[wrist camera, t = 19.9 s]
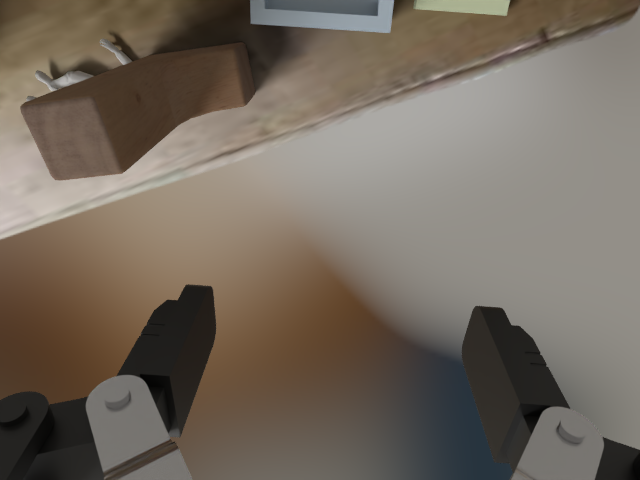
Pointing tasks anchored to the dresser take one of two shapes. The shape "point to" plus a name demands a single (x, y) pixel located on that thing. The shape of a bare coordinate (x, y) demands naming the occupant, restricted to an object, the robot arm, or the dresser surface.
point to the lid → (465, 6)
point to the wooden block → (134, 108)
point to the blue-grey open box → (325, 14)
